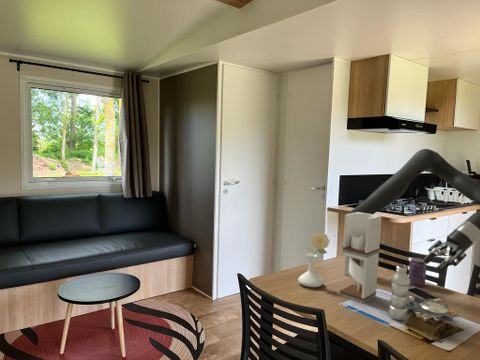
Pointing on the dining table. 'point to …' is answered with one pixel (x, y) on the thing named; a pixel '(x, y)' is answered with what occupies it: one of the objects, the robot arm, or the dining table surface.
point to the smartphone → (422, 294)
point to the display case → (362, 254)
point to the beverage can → (417, 272)
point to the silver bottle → (399, 293)
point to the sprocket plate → (429, 308)
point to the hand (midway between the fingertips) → (431, 265)
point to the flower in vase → (310, 276)
